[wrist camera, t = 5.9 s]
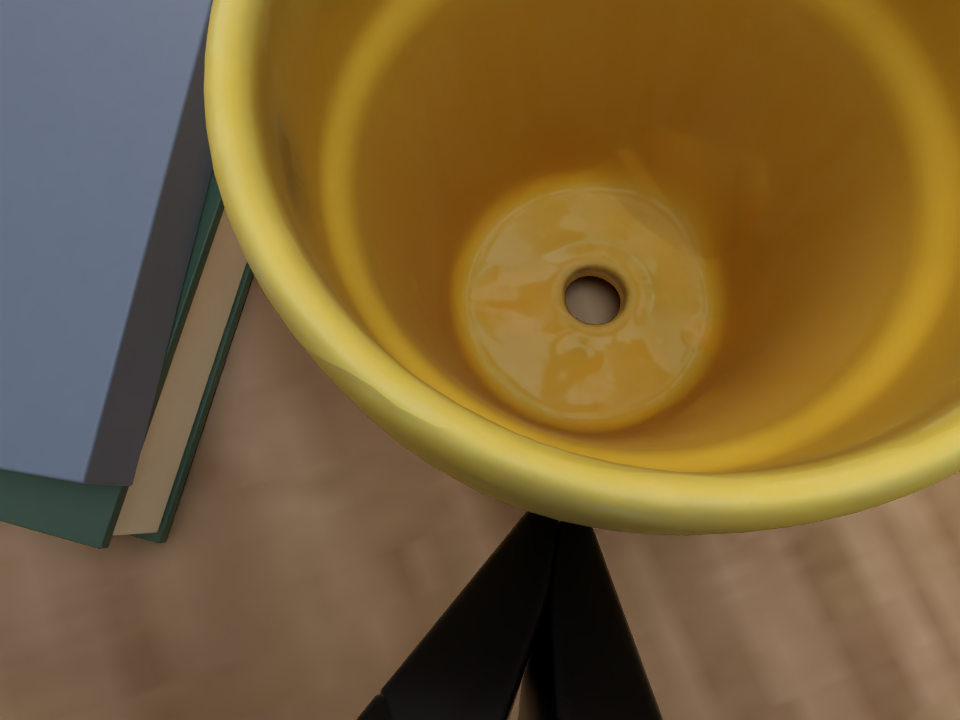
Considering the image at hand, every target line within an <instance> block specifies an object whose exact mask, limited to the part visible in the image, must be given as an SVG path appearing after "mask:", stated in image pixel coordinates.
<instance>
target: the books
mask: <svg viewBox="0 0 960 720" xmlns="http://www.w3.org/2000/svg"><path fill="white" fill-rule="evenodd" d="M212 3H213V0H0V521H3V522H7V523H10V524H14V525H17V526H21V527H24V528H28V529H31V530H35V531H39V532H42V533H46V534H49V535H53V536H56V537H60V538H63V539H67V540H70V541H74V542H77V543H81V544H85V545H88V546H92V547H95V548H99V549H102V548H108V547H109V544H110V541H111V538H112V536H113V535H131V536H135V537H139V538H142V539H146V540H149V541H153V542H156V543H165V541H166V539H167V536H168V532H169V529H170V526H171V523H172V520H173V517H174V514H175V511H176V508H177V505H178V502H179V499H180V496H181V493H182V490H183V487H184V484H185V481H186V478H187V475H188V472H189V469H190V466H191V463H192V459H193V456H194V453H195V450H196V447H197V444H198V441H199V438H200V435H201V432H202V429H203V426H204V423H205V420H206V417H207V414H208V411H209V408H210V405H211V402H212V399H213V396H214V393H215V390H216V386H217V383H218V380H219V377H220V374H221V371H222V368H223V365H224V362H225V359H226V356H227V353H228V350H229V347H230V344H231V341H232V338H233V335H234V332H235V329H236V326H237V323H238V320H239V317H240V313H241V310H242V307H243V304H244V301H245V298H246V295H247V292H248V289H249V286H250V283H251V280H252V277H253V274H254V273H253V272H252V270H251V268H250V266H249V264H248V262H247V260H246V259H245V257H244V254H243V252H242V250H241V247H240V245H239V243H238V240H237V238H236V236H235V233H234V231H233V229H232V226H231V224H230V222H229V219H228V217H227V214H226V210H225V207H224V204H223V201H222V197H221V194H220V191H219V187H218V184H217V181H216V178H215V174H214V169H213V164H212V158H211V153H210V147H209V141H208V135H207V129H206V119H205V104H204V74H205V50H206V41H207V33H208V27H209V20H210V13H211V7H212Z"/></svg>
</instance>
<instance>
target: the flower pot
mask: <svg viewBox="0 0 960 720" xmlns="http://www.w3.org/2000/svg"><path fill="white" fill-rule="evenodd" d="M204 104H205V119H206V129H207V135H208V141H209V147H210V153H211V158H212V164H213V169H214V174H215V178H216V181H217V184H218V187H219V191H220V194H221V197H222V201H223V204H224V207H225V210H226V214H227V217H228V219H229V222H230V224H231V226H232V229H233V231H234V233H235V236H236V238H237V240H238V243H239V245H240V247H241V250H242V252H243V254H244V257H245V259H246V260H247V262H248V264H249V266H250V268H251V270H252V272H253V273H254V275H255V277H256V279H257V281H258V283H259V285H260V286H261V288H262V290H263V292H264V294H265V295H266V296H267V298H268V299H269V301H270V302H271V304H272V305H273V307H274V308H275V310H276V311H277V312H278V314H279V315H280V317H281V318H282V320H283V321H284V323H285V324H286V326H287V327H288V328H289V330H290V331H291V333H292V334H293V335H294V336H295V337H296V339H297V340H298V341H299V342H300V344H301V345H302V346H303V347H304V348H305V350H306V351H307V352H308V353H309V355H310V356H311V357H312V358H313V359H314V361H315V362H316V363H317V364H318V366H319V367H320V368H321V369H322V370H323V371H324V372H325V373H326V374H327V375H328V376H329V377H330V379H331V380H332V381H333V382H334V383H335V384H336V385H337V386H338V387H339V388H340V389H341V390H342V391H343V392H344V393H345V394H346V395H347V396H348V397H349V398H350V399H351V400H352V401H353V402H354V403H355V404H356V405H357V406H358V407H359V408H360V409H361V410H362V411H363V412H364V413H365V414H366V415H367V416H368V417H369V418H371V419H372V420H373V421H374V422H375V423H376V424H378V425H379V426H380V427H381V428H382V429H384V430H385V431H386V432H387V433H388V434H390V435H391V436H392V437H393V438H394V439H395V440H397V441H398V442H399V443H400V444H402V445H403V446H405V447H406V448H407V449H409V450H410V451H412V452H413V453H415V454H416V455H417V456H419V457H420V458H422V459H423V460H425V461H426V462H427V463H429V464H430V465H432V466H433V467H435V468H437V469H439V470H440V471H442V472H444V473H446V474H448V475H449V476H451V477H453V478H455V479H457V480H458V481H460V482H462V483H464V484H466V485H467V486H469V487H471V488H473V489H475V490H478V491H480V492H482V493H484V494H486V495H488V496H490V497H492V498H494V499H497V500H499V501H502V502H504V503H507V504H510V505H512V506H515V507H518V508H520V509H523V510H525V511H528V512H532V513H535V514H538V515H542V516H545V517H548V518H552V519H555V520H558V521H563V522H568V523H573V524H578V525H583V526H588V527H593V528H599V529H606V530H613V531H620V532H630V533H641V534H654V535H701V534H724V533H744V532H752V531H760V530H768V529H776V528H784V527H791V526H798V525H805V524H810V523H814V522H818V521H823V520H827V519H832V518H836V517H840V516H845V515H849V514H853V513H856V512H859V511H863V510H866V509H869V508H873V507H876V506H879V505H882V504H884V503H887V502H890V501H893V500H895V499H898V498H901V497H904V496H907V495H909V494H912V493H915V492H917V491H919V490H922V489H924V488H926V487H928V486H930V485H933V484H935V483H937V482H939V481H941V480H943V479H945V478H947V477H950V476H952V475H954V474H956V473H958V472H960V0H213V3H212V7H211V13H210V20H209V27H208V33H207V41H206V50H205V74H204ZM583 276H596V277H599V278H602V279H604V280H606V281H608V282H609V283H610V284H612V285H613V286H614V287H615V288H616V290H617V292H618V293H619V296H620V299H621V301H620V309H619V312H618V314H617V315H616V317H615V318H614V319H613V320H611V321H610V322H608V323H603V324H587V323H584V322H581V321H580V320H578V319H577V318H575V317H574V316H573V315H572V314H571V313H570V311H569V310H568V308H567V305H566V303H565V292H566V289H567V287H568V286H569V285H570V283H572V282H573V281H574V280H576V279H578V278H580V277H583Z"/></svg>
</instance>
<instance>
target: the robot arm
mask: <svg viewBox="0 0 960 720" xmlns="http://www.w3.org/2000/svg"><path fill="white" fill-rule="evenodd" d="M522 677H523V680H522ZM521 680H522V686H521V695H520V704H519V715H518V720H663V719H662V716H661V713H660V711H659V708H658V705H657V702H656V700H655V697H654V694H653V691H652V689H651V686H650V683H649V680H648V678H647V675H646V672H645V669H644V667H643V664H642V661H641V658H640V656H639V653H638V650H637V647H636V645H635V642H634V639H633V636H632V634H631V631H630V628H629V625H628V623H627V620H626V617H625V615H624V612H623V609H622V606H621V604H620V601H619V598H618V595H617V593H616V590H615V587H614V584H613V582H612V579H611V576H610V573H609V571H608V568H607V565H606V562H605V560H604V557H603V554H602V551H601V549H600V546H599V543H598V540H597V538H596V535H595V532H594V530H593V528H592V527H588V526H583V525H578V524H573V523H568V522H563V521H560V522H559V521H558V520H555V519H552V518H548V517H545V516H542V515H538V514H535V513H532V512H528V511H527V512H526V513H525V514H524V515H523V517H522V518H521V519H520V520H519V522H518V523H517V524H516V525H515V526H514V528H513V529H512V530H511V531H510V533H509V534H508V535H507V536H506V538H505V539H504V540H503V541H502V542H501V544H500V545H499V546H498V547H497V549H496V550H495V551H494V552H493V553H492V555H491V556H490V557H489V558H488V560H487V561H486V562H485V563H484V564H483V566H482V567H481V568H480V569H479V571H478V572H477V573H476V574H475V575H474V577H473V578H472V579H471V580H470V582H469V583H468V584H467V585H466V587H465V588H464V589H463V590H462V591H461V593H460V594H459V595H458V596H457V598H456V599H455V600H454V601H453V602H452V604H451V605H450V606H449V607H448V609H447V610H446V611H445V612H444V613H443V615H442V616H441V617H440V618H439V620H438V621H437V622H436V623H435V624H434V626H433V627H432V628H431V629H430V631H429V632H428V633H427V634H426V636H425V637H424V638H423V639H422V640H421V642H420V643H419V644H418V645H417V647H416V648H415V649H414V650H413V651H412V653H411V654H410V655H409V656H408V658H407V659H406V660H405V661H404V662H403V664H402V665H401V666H400V667H399V669H398V670H397V671H396V672H395V673H394V675H393V676H392V677H391V678H390V680H389V681H388V682H387V683H386V685H385V686H384V687H383V688H382V690H381V693H380V695H376V696H375V697H374V699H373V700H372V701H371V702H370V704H369V705H368V706H367V707H366V708H365V710H364V711H363V712H362V713H361V715H360V716H359V717H358V718H357V719H356V720H509V717H510V714H511V711H512V708H513V705H514V702H515V699H516V696H517V693H518V690H519V686H520V683H521Z"/></svg>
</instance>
